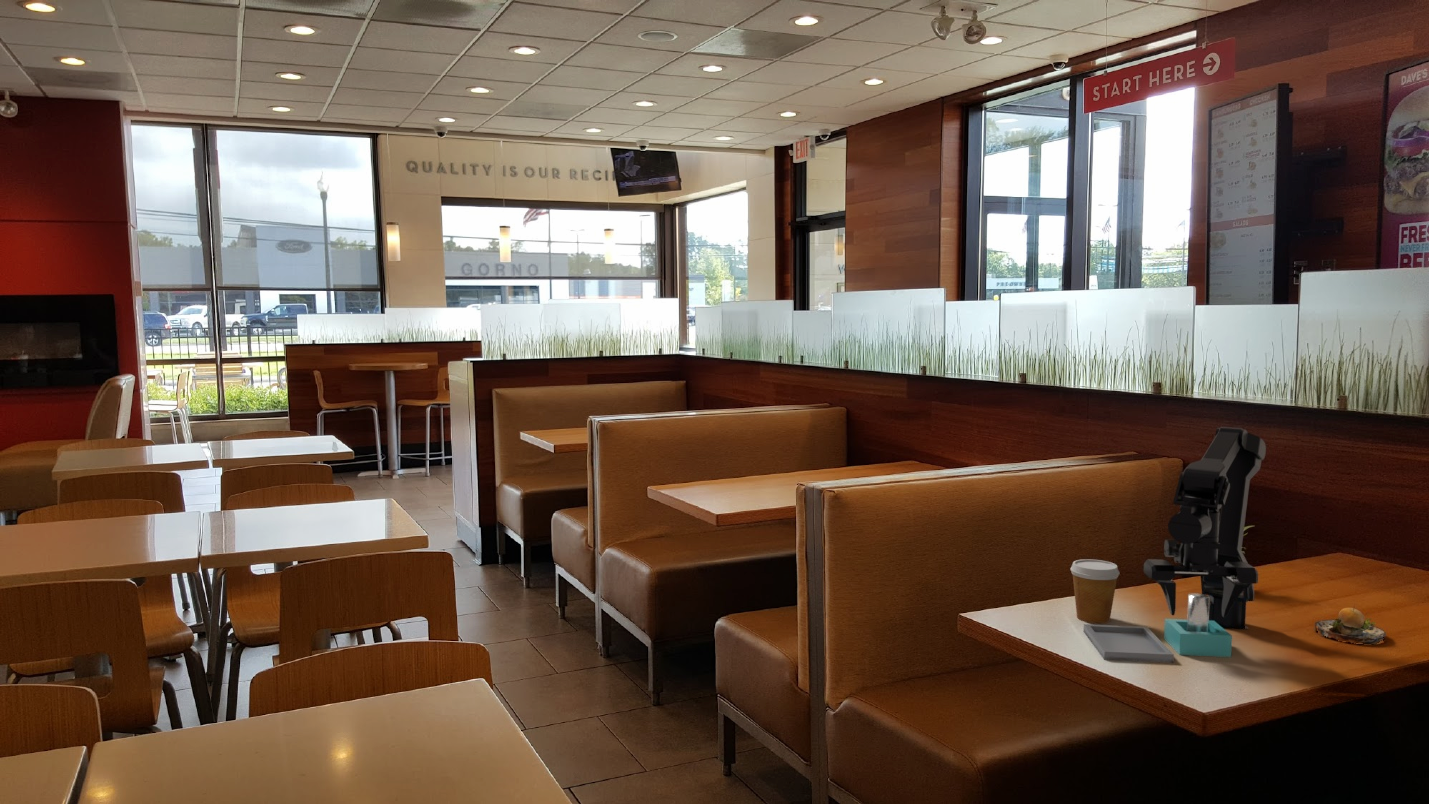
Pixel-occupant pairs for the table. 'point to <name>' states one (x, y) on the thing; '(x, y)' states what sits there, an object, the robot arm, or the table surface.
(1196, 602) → the steel pin
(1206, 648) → the teal square open box
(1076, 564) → the disposable coffee cup
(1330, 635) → the burger
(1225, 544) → the robot arm
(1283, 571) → the table surface
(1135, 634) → the charcoal tray
